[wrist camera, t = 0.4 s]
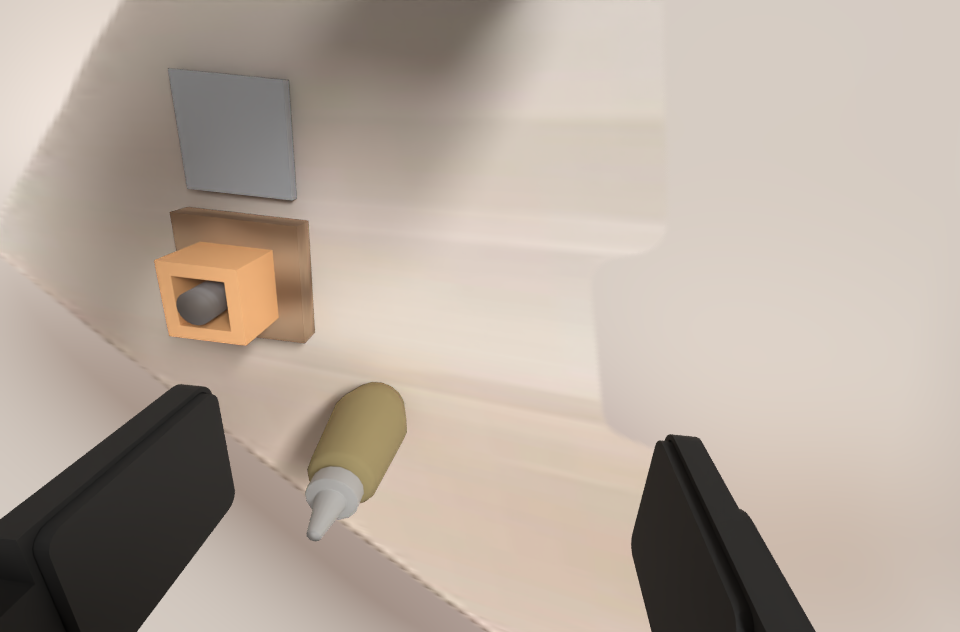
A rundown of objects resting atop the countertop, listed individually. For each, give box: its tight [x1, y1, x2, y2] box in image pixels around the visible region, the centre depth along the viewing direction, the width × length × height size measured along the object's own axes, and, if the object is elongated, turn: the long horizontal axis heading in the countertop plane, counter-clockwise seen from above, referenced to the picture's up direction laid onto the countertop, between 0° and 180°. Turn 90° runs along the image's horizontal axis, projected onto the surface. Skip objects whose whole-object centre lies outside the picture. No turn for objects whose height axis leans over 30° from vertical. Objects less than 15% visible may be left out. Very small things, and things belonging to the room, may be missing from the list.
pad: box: [168, 68, 297, 200], centre depth 42 cm, size 10×10×1 cm
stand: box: [170, 207, 315, 343], centre depth 43 cm, size 12×12×10 cm
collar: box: [154, 242, 279, 346], centre depth 43 cm, size 7×7×6 cm
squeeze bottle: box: [305, 382, 407, 541], centre depth 45 cm, size 8×8×18 cm
